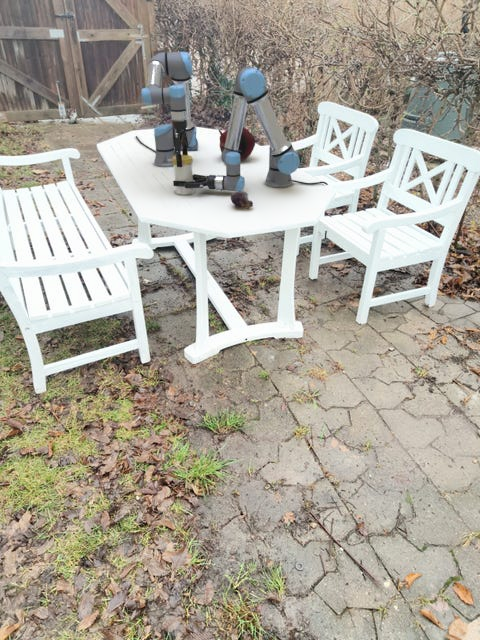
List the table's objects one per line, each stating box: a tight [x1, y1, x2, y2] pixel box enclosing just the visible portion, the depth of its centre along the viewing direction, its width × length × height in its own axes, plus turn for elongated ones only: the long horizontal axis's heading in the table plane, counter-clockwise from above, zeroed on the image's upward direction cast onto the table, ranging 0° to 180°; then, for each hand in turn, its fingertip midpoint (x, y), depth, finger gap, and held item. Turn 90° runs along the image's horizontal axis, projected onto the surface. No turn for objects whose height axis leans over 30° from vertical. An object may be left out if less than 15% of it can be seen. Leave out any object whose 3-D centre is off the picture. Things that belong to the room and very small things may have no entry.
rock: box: [230, 190, 254, 209], centre depth 225 cm, size 12×9×10 cm
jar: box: [173, 162, 195, 196], centre depth 243 cm, size 10×10×18 cm
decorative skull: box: [218, 126, 257, 162], centre depth 296 cm, size 21×24×25 cm
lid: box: [172, 154, 194, 165], centre depth 239 cm, size 11×11×2 cm
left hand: (182, 163), depth 240 cm, fingers open, 11 cm apart
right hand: (176, 180), depth 246 cm, fingers closed on jar, 10 cm apart
